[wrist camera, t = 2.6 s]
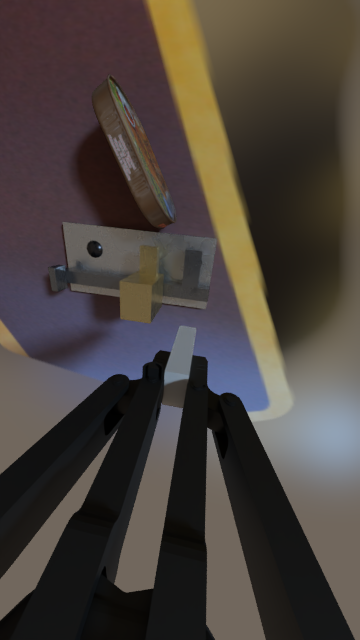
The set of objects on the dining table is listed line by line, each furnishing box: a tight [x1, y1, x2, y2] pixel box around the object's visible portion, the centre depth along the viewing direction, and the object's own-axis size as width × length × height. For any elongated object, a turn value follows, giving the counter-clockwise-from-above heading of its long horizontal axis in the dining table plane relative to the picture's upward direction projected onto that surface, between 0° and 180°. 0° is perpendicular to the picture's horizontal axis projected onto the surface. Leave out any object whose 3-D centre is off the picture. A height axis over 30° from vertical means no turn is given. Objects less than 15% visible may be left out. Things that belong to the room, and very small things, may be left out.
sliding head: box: [120, 245, 164, 323], centre depth 28 cm, size 9×4×9 cm, turn 174°
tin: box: [92, 74, 177, 228], centre depth 24 cm, size 15×3×8 cm, turn 24°
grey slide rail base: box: [48, 249, 209, 302], centre depth 31 cm, size 8×24×5 cm, turn 84°
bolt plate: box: [63, 222, 217, 309], centre depth 33 cm, size 11×24×1 cm, turn 84°
